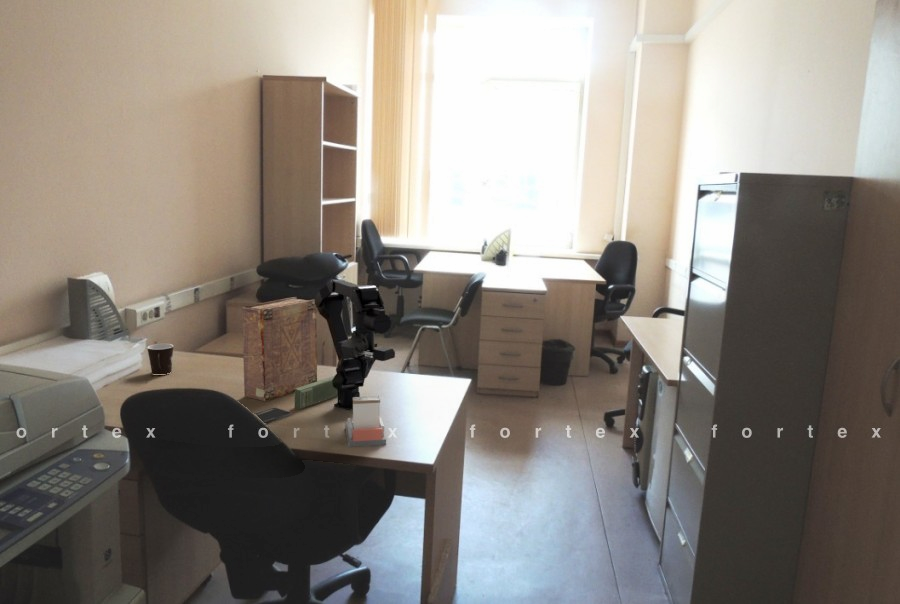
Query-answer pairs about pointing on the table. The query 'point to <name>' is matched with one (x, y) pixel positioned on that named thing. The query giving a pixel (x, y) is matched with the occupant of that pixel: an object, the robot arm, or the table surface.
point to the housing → (365, 435)
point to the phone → (272, 415)
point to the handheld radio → (314, 392)
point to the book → (279, 347)
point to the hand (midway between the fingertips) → (364, 377)
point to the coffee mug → (160, 358)
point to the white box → (366, 412)
